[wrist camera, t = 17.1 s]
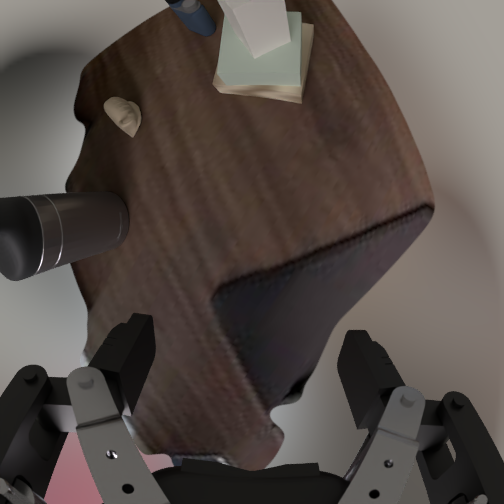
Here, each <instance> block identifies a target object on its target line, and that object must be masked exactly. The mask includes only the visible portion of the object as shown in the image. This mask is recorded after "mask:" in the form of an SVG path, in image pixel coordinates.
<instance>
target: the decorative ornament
mask: <svg viewBox="0 0 504 504" xmlns="http://www.w3.org/2000/svg"><path fill="white" fill-rule="evenodd" d="M104 109H105V112H106V113H107V115H108V116H109V117H110V118H111V119H112V120H113V121H114V122H115V123H116V124H117V125H118V126H119V127H120V128H121V129H122V130H123V131H124V132H126V133H127V134H128V135H130V136H131V137H134V135H135V133H136V131H137V130H138V127H139V125H140V123H141V112H140V110H139V107H138V106H137V105H136V104H135V103H133V102H131V101H130V102H127V101H126V100H124V99H122V98H120V97H111V98H110V99H108V100H107V101H106V102H105V103H104Z"/></svg>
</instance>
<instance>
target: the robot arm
mask: <svg viewBox="0 0 504 504" xmlns="http://www.w3.org/2000/svg"><path fill="white" fill-rule="evenodd" d="M128 227H129V216H128V211H127V208H126V206H125V204H124V202H123V201H122V199H121V198H120V197H119V196H118V195H116V194H114V193H112V192H107V191H105V192H76V193H58V194H43V195H31V196H18V197H8V198H0V272H1V273H2V274H3V275H4V276H5V277H6V278H7V279H9V280H12V281H19V280H23V279H25V278H28V277H31V276H34V275H37V274H40V273H42V272H45V271H48V270H50V269H54V268H56V267H59V266H62V265H65V264H68V263H71V262H74V261H77V260H80V259H83V258H86V257H89V256H93V255H96V254H99V253H102V252H105V251H108V250H111V249H115V248H116V247H118V246H119V245H120V244H121V243H122V242H123V241H124V239H125V238H126V235H127V232H128ZM155 352H156V343H155V334H154V325H153V317H152V316H151V315H146V314H139V313H133V314H132V316H131V318H130V319H129V321H128V322H127V324H126V323H120V324H119V325H117V326H116V327H114V328H113V329H112V330H111V331H110V333H109V334H108V336H107V338H106V339H105V340H104V342H103V345H101V346H100V348H99V349H98V351H97V352H96V354H95V355H94V357H93V358H92V360H91V362H90V363H89V365H88V366H87V367H81V368H77V369H75V370H74V371H72V372H71V373H70V374H69V376H68V377H67V378H62V377H61V378H60V377H48V375H47V372H46V370H45V369H44V368H43V367H41V366H39V365H28V366H25V367H23V368H22V369H20V370H19V371H18V372H17V373H16V375H15V376H14V378H13V379H12V381H11V382H10V384H9V385H8V386H7V388H6V389H5V391H4V392H3V394H2V395H1V397H0V504H47V503H46V502H45V501H44V497H45V494H46V491H47V488H48V485H49V482H50V479H51V476H52V474H53V471H54V468H55V465H56V463H57V460H58V458H59V455H60V452H61V450H62V448H63V445H64V442H65V440H66V438H67V435H68V433H69V432H77V435H78V438H79V441H80V444H81V447H82V450H83V453H84V456H85V459H86V461H87V464H88V467H89V469H90V472H91V474H92V477H93V479H94V481H95V484H96V486H97V489H98V491H99V493H100V495H101V497H102V500H103V502H104V503H102V504H398V502H399V500H400V497H401V495H402V492H403V490H404V487H405V485H406V482H407V480H408V477H409V474H410V472H411V469H412V466H413V463H414V460H415V457H416V460H417V463H418V466H419V469H420V472H421V475H422V478H423V481H424V484H425V487H426V490H427V494H428V497H429V500H430V504H504V462H503V460H502V458H501V456H500V454H499V452H498V450H497V448H496V446H495V444H494V442H493V440H492V438H491V437H490V435H489V433H488V431H487V429H486V427H485V426H484V424H483V422H482V420H481V419H480V417H479V415H478V413H477V412H476V410H475V408H474V407H473V405H472V403H471V402H470V400H469V399H468V398H467V397H466V396H465V395H464V394H462V393H459V392H454V391H452V392H448V393H447V394H445V396H444V397H443V399H442V400H441V401H434V400H425V398H424V396H423V395H422V393H421V392H420V391H418V390H417V389H415V388H412V387H409V386H406V385H405V384H404V382H403V380H402V378H401V376H400V375H399V373H398V371H397V370H396V368H395V366H394V365H393V362H392V361H391V359H390V358H389V356H388V354H387V352H386V350H385V349H384V348H383V347H382V346H381V345H380V344H378V343H377V342H376V341H372V340H371V338H370V336H369V334H368V333H367V331H366V330H348V331H347V333H346V335H345V339H344V342H343V345H342V348H341V351H340V354H339V357H338V362H337V368H338V373H339V376H340V379H341V382H342V385H343V388H344V391H345V394H346V397H347V399H348V403H349V406H350V409H351V412H352V415H353V418H354V421H355V424H356V427H357V429H365V428H368V431H369V433H368V435H367V436H366V438H365V440H364V442H363V444H362V446H361V448H360V450H359V452H358V453H357V455H356V457H355V459H354V460H353V462H352V464H351V466H350V467H349V469H348V471H347V472H346V474H345V475H344V477H343V478H342V477H340V476H337V475H334V474H331V473H328V472H323V471H319V466H318V463H306V464H285V465H281V466H277V467H272V468H268V469H262V470H257V471H248V470H244V469H240V468H236V467H232V466H229V465H225V464H222V463H218V462H212V461H203V460H195V459H187V458H183V461H182V466H175V467H168V468H164V469H160V470H158V471H155V472H153V473H151V472H150V470H149V469H148V467H147V465H146V464H145V462H144V460H143V458H142V456H141V455H140V453H139V451H138V449H137V447H136V445H135V443H134V441H133V439H132V437H131V435H130V433H129V431H128V429H127V427H126V425H125V423H124V421H123V419H122V417H121V416H122V414H124V415H128V416H132V414H133V412H134V409H135V406H136V404H137V401H138V398H139V396H140V393H141V391H142V388H143V386H144V383H145V381H146V378H147V375H148V373H149V371H150V368H151V366H152V363H153V361H154V358H155ZM449 439H450V441H451V443H452V445H453V448H454V450H455V452H456V460H455V462H454V460H453V458H452V455H451V453H450V451H449V448H448V446H447V444H446V442H447V441H448V440H449Z"/></svg>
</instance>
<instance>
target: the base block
mask: <svg viewBox="0 0 504 504" xmlns="http://www.w3.org/2000/svg"><path fill="white" fill-rule="evenodd" d="M313 38H314V25H313V24H307V23H302V64H301V87H300V86H280V85H230V86H226V84H225V83H224V82H223V81H222V79H221V78H220V77H219V76H218V74H217V69H218V65H217V68H216V72H215V76H214V80H213V85H214V86H215V87H216V89H217V90H218V91H219V92H220V93H228V94H239V95H248V96H257V97H264V98H271V99H278V100H285V101H291V102H296V103H302V99H303V94H304V89H305V83H306V78H307V72H308V67H309V61H310V55H311V50H312V44H313Z"/></svg>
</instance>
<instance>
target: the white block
mask: <svg viewBox="0 0 504 504" xmlns="http://www.w3.org/2000/svg"><path fill="white" fill-rule="evenodd" d="M218 2H219V4H220V6H221V8H222V10H223V11H224V13H225V15H226V17H227V19H228V21H229V23H230V25H231V27H232V29H233V30H234V32H235V34H236V35H237V37H238V38H239V39H240V40H241V42H242V43H243V44H244V46H245V47H246V48H247V49H248V51H249V52H250V53H251V55H252V56H253V57H254V59H256V58H258V57H260V56H261V55H263V54H265V53H267V52H269V51H272V50H274V49H276V48H278V47H280V46H282V45H284V44H286V43H289V42H291V39H290V32H289V25H288V19H287V13H286V7H285V1H284V0H218Z"/></svg>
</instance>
